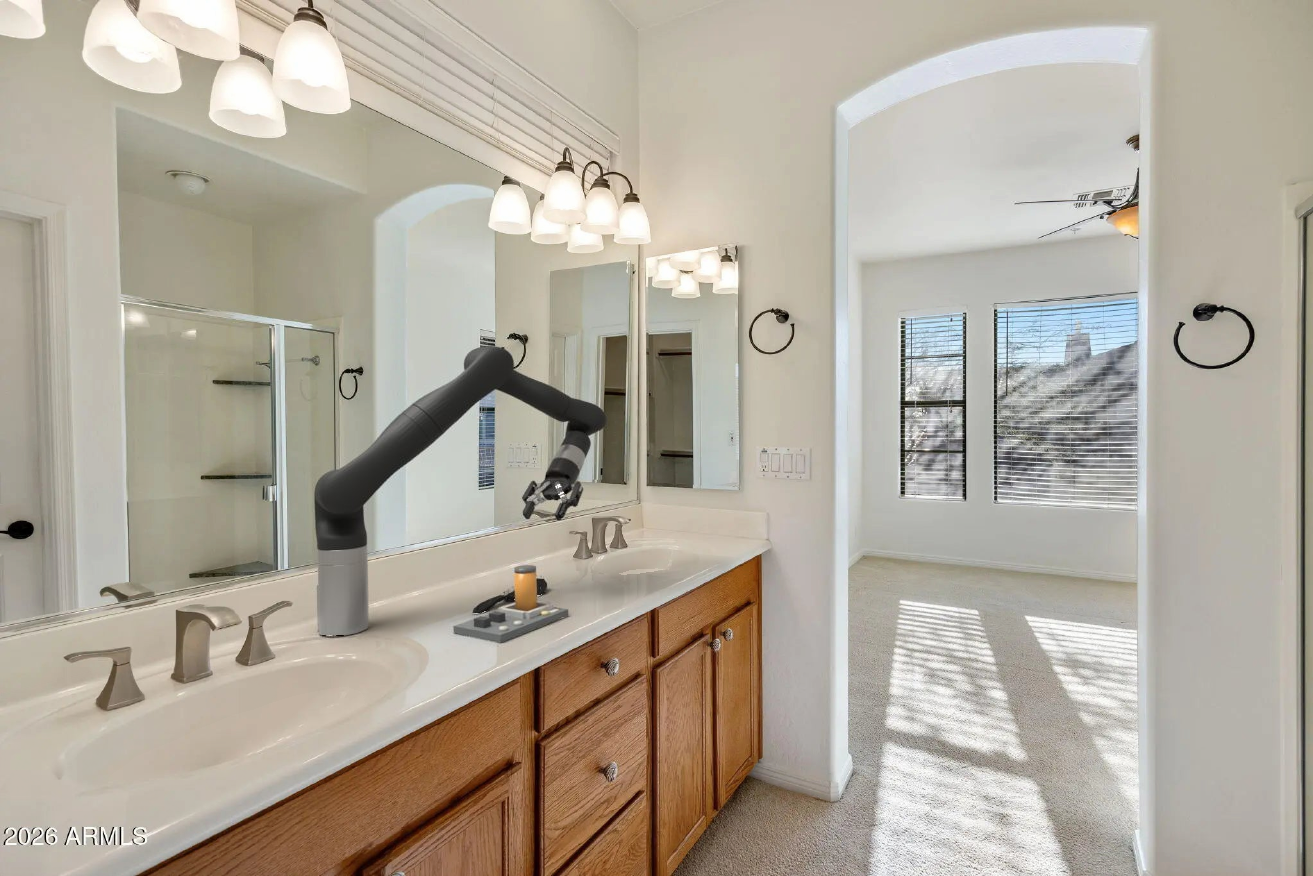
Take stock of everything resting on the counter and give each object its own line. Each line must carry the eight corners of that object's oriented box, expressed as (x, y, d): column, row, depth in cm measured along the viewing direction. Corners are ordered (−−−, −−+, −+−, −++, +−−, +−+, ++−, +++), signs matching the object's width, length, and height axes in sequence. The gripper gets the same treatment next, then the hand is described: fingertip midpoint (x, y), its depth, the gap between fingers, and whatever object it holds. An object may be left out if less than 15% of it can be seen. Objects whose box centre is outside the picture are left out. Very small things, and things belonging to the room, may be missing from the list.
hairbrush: (459, 601, 139) (528, 573, 162) (460, 618, 140) (528, 587, 162) (488, 605, 136) (554, 576, 158) (488, 622, 136) (555, 590, 158)
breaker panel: (453, 633, 124) (453, 617, 124) (523, 609, 141) (523, 595, 141) (500, 643, 117) (500, 626, 117) (568, 616, 134) (568, 601, 134)
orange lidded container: (510, 612, 132) (509, 568, 132) (525, 607, 136) (524, 564, 136) (526, 615, 130) (525, 570, 130) (541, 610, 134) (540, 566, 134)
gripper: (535, 456, 155) (508, 506, 144) (586, 456, 149) (562, 508, 139) (547, 476, 160) (522, 526, 149) (596, 477, 154) (574, 528, 143)
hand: (541, 517), depth 144 cm, fingers open, 8 cm apart
